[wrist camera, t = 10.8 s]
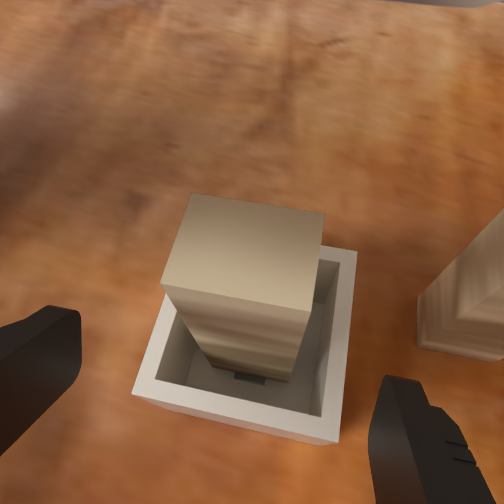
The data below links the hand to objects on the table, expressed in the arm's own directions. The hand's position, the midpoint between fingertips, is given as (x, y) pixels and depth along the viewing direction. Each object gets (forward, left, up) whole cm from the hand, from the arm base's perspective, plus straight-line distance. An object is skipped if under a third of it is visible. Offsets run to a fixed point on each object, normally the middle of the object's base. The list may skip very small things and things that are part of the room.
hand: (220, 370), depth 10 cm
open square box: (-2, +2, -11) cm, 12 cm away
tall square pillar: (-2, +2, -10) cm, 11 cm away
